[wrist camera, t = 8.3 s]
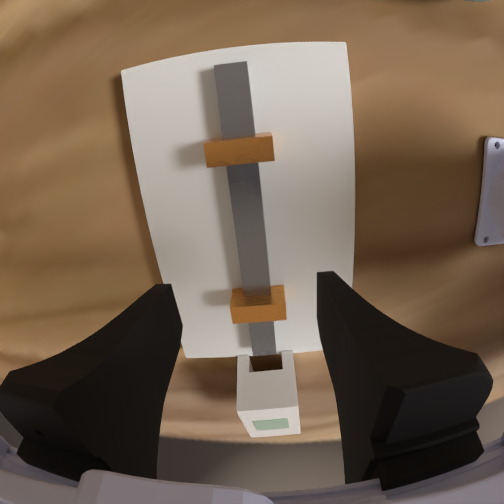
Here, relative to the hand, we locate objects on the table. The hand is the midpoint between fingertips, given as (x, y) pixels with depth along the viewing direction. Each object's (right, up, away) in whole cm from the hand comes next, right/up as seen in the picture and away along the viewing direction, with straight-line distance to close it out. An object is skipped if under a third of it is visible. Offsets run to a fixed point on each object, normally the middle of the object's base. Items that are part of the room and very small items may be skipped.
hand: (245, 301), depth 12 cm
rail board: (0, +4, +7) cm, 8 cm away
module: (+2, -8, +13) cm, 15 cm away
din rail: (0, +3, +6) cm, 7 cm away
